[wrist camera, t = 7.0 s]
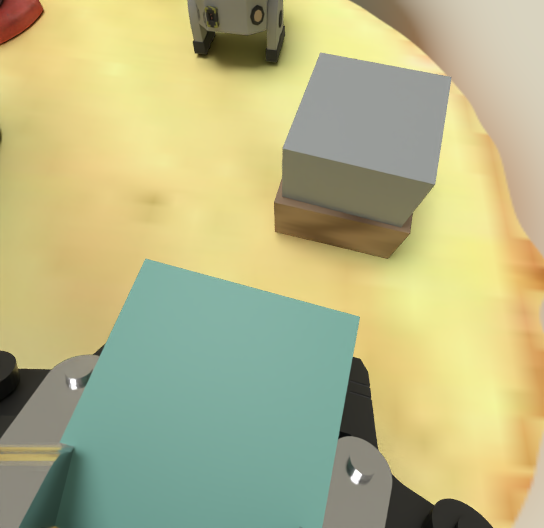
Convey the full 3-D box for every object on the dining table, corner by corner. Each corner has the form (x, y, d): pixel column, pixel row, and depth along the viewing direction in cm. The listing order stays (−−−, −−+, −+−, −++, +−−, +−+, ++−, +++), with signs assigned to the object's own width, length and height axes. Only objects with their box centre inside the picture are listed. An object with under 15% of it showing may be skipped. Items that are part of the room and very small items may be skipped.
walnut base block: (275, 233, 24) (274, 202, 20) (301, 148, 27) (305, 107, 23) (386, 260, 23) (410, 233, 19) (400, 169, 26) (423, 129, 22)
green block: (191, 423, 14) (24, 514, 5) (223, 329, 16) (145, 258, 6) (285, 455, 14) (304, 624, 4) (308, 354, 15) (360, 316, 6)
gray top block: (282, 196, 20) (282, 148, 16) (312, 112, 23) (320, 52, 19) (400, 227, 19) (435, 184, 15) (418, 135, 22) (451, 77, 18)
